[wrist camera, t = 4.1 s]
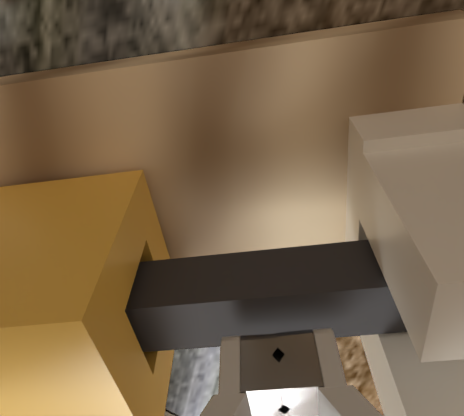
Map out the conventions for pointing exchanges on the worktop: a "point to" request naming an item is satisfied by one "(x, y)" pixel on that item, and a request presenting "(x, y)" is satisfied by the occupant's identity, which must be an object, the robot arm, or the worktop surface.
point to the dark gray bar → (261, 295)
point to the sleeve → (77, 298)
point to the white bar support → (413, 250)
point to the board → (232, 125)
